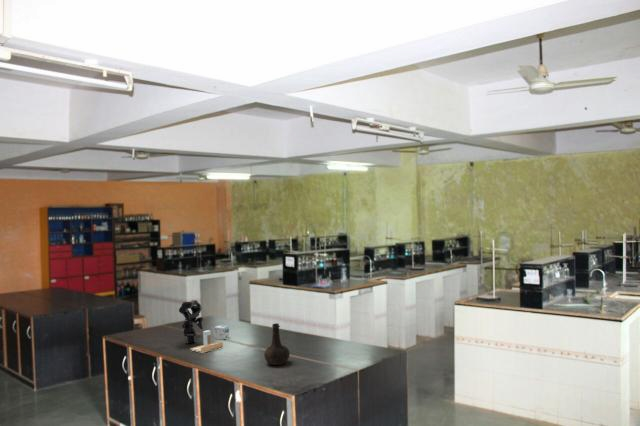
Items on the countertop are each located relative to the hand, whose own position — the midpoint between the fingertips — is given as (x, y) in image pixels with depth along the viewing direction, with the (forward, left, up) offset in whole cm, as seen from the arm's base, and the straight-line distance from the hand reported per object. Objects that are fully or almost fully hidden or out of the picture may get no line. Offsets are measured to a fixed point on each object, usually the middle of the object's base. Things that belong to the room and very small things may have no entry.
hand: (197, 330), depth 415 cm
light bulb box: (-5, +28, -14) cm, 32 cm away
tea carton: (+14, -1, -12) cm, 18 cm away
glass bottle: (+89, +5, -14) cm, 90 cm away
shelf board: (+13, -1, -14) cm, 19 cm away
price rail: (+20, -1, -12) cm, 23 cm away
